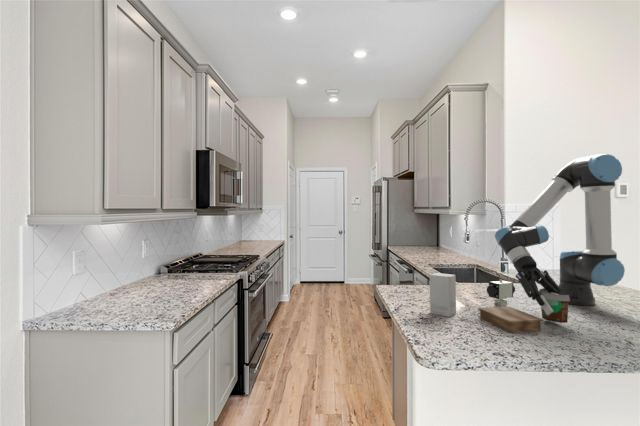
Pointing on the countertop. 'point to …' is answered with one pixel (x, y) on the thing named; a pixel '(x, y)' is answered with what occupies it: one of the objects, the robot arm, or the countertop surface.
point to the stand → (510, 319)
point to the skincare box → (443, 294)
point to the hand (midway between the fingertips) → (558, 312)
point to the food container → (555, 306)
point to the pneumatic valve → (500, 292)
